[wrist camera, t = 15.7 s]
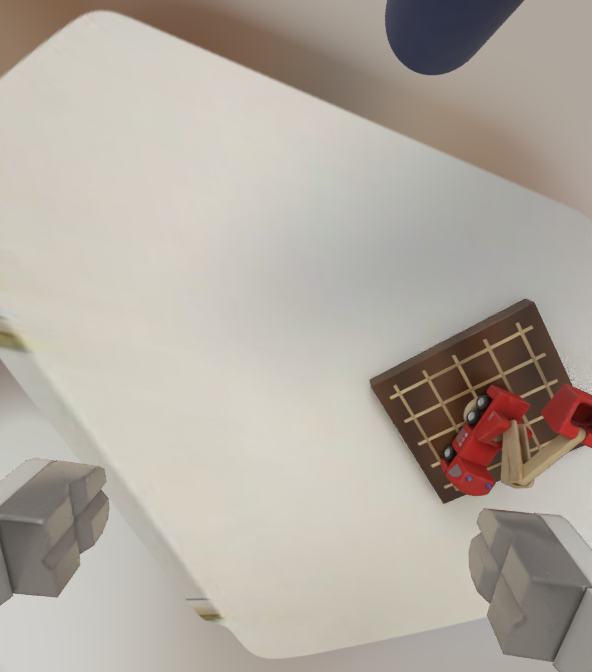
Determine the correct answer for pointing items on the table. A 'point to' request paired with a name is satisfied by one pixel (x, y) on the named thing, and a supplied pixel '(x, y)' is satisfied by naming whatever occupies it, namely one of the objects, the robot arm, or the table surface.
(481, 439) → the toy fire truck
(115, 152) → the table surface
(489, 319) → the board
